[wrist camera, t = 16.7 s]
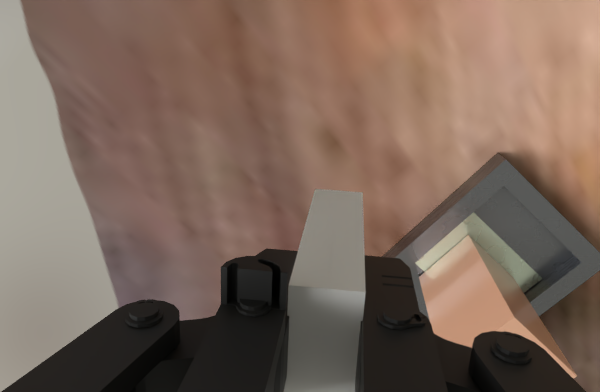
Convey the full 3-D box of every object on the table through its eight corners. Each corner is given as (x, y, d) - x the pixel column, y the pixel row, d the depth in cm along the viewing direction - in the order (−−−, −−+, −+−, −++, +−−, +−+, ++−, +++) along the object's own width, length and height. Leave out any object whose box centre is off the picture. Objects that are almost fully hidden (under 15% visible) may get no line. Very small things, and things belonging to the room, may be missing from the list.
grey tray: (373, 422, 54) (374, 440, 51) (283, 345, 52) (279, 359, 50) (596, 251, 46) (609, 262, 43) (497, 152, 44) (505, 159, 42)
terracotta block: (463, 318, 48) (503, 426, 35) (418, 277, 47) (442, 371, 34) (514, 278, 46) (577, 375, 33) (468, 234, 45) (513, 316, 32)
